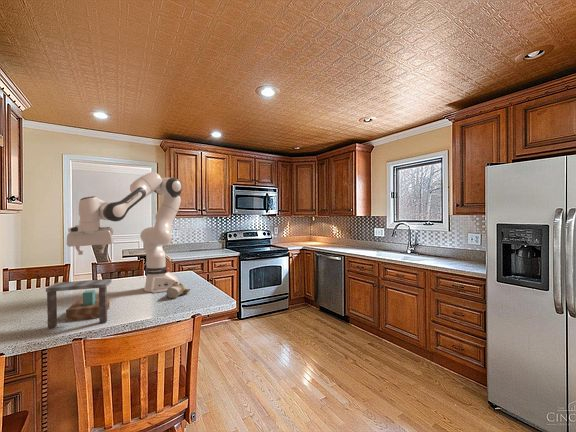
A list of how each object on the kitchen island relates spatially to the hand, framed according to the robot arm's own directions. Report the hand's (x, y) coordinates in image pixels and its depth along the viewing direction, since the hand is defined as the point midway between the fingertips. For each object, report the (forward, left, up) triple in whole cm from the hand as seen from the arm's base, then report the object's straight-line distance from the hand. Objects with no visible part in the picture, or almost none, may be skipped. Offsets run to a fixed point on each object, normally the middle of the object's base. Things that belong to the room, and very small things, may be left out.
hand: (91, 253), depth 152 cm
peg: (-3, +14, -27) cm, 31 cm away
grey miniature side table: (-3, +18, -27) cm, 33 cm away
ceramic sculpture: (-42, -5, -28) cm, 50 cm away
